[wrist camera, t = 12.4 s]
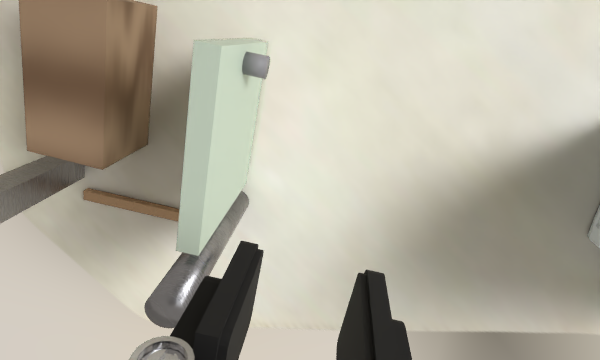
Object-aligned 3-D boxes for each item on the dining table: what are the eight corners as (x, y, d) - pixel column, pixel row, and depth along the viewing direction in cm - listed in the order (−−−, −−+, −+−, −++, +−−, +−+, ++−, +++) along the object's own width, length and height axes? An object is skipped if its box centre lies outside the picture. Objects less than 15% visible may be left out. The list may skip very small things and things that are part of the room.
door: (261, 186, 29) (220, 261, 20) (231, 180, 29) (176, 250, 20) (285, 45, 25) (249, 52, 16) (250, 38, 25) (193, 40, 16)
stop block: (87, -11, 26) (17, -24, 20) (158, 6, 26) (106, -2, 20) (86, 128, 30) (27, 150, 24) (148, 144, 29) (102, 169, 24)
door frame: (62, 149, 30) (-125, 225, 18) (250, 192, 30) (186, 300, 18) (64, 191, 32) (-109, 287, 20) (243, 232, 31) (180, 357, 19)
